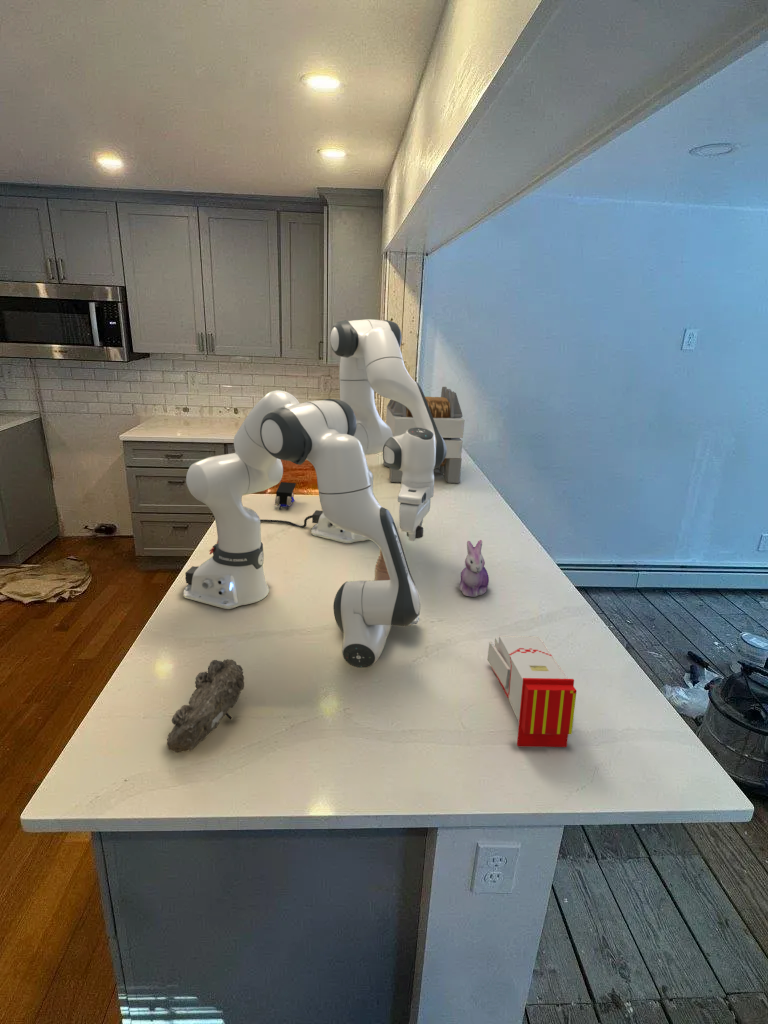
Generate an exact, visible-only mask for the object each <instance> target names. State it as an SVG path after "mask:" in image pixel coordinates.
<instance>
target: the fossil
mask: <svg viewBox="0 0 768 1024" xmlns="http://www.w3.org/2000/svg"><path fill="white" fill-rule="evenodd" d="M243 670H244V669H243V667H242V665H240V664H237V662H236V661H235V660H234V659H232V658H231V659H227V658H226V659H224V660H223V661H222V660H217V659H212V660H211V661H210V663H209V665H208V666H207V671H201V672H199V673H198V674H197V675H196V676H195V680H194V684H195V685H194V687H195V689H194V690H193V693H192V694H191V697H190V698H189V700H188V704H184V705H182V706H181V707H180V709H177V710H176V711H175V713H174V715H173V716H172V718H171V723H172V724H173V727H172V730H171V731H170V732H168V734H167V738H166V741H167V742H166V745H167V749H168V750H169V751H173V752H174V753H176V754H178V753H182V752H188V751H189V752H192V751H193V750H195V748H196V747H197V746H199V744H200V743H201V742H203V741H204V740H205V739H206V738H207V737H208V736H209V735H210V734H211V733H212V732H214V730H215V729H217V727H218V726H219V724H220V722H221V721H222V720H223V719H224V718H225V716H226V717H227V719H229V720H233V717H232V715H230V714H229V710H230V709H231V708H234V706H235V704H236V703H237V702H238V699H239V697H240V695H241V693H242V691H243V690H245V689H244V688H245V675H244V671H243Z"/></svg>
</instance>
